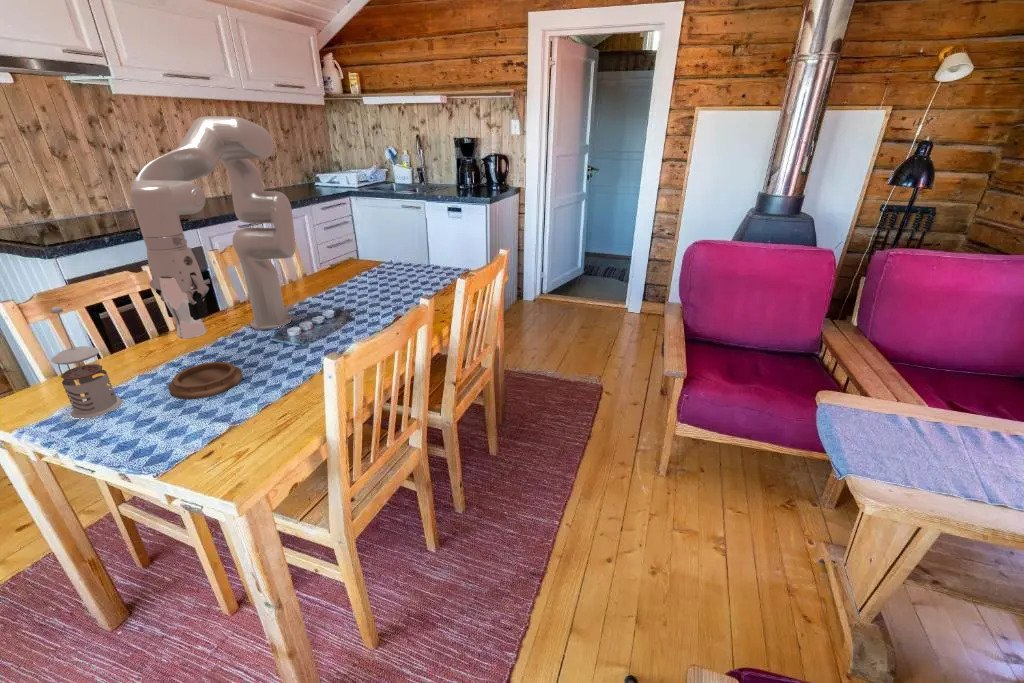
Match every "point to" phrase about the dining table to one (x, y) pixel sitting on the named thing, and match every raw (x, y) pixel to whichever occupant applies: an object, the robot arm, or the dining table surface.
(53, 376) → the dining table surface
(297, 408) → the dining table surface
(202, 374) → the round tray
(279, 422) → the dining table surface
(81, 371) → the french press
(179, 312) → the beer glass
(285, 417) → the dining table surface
